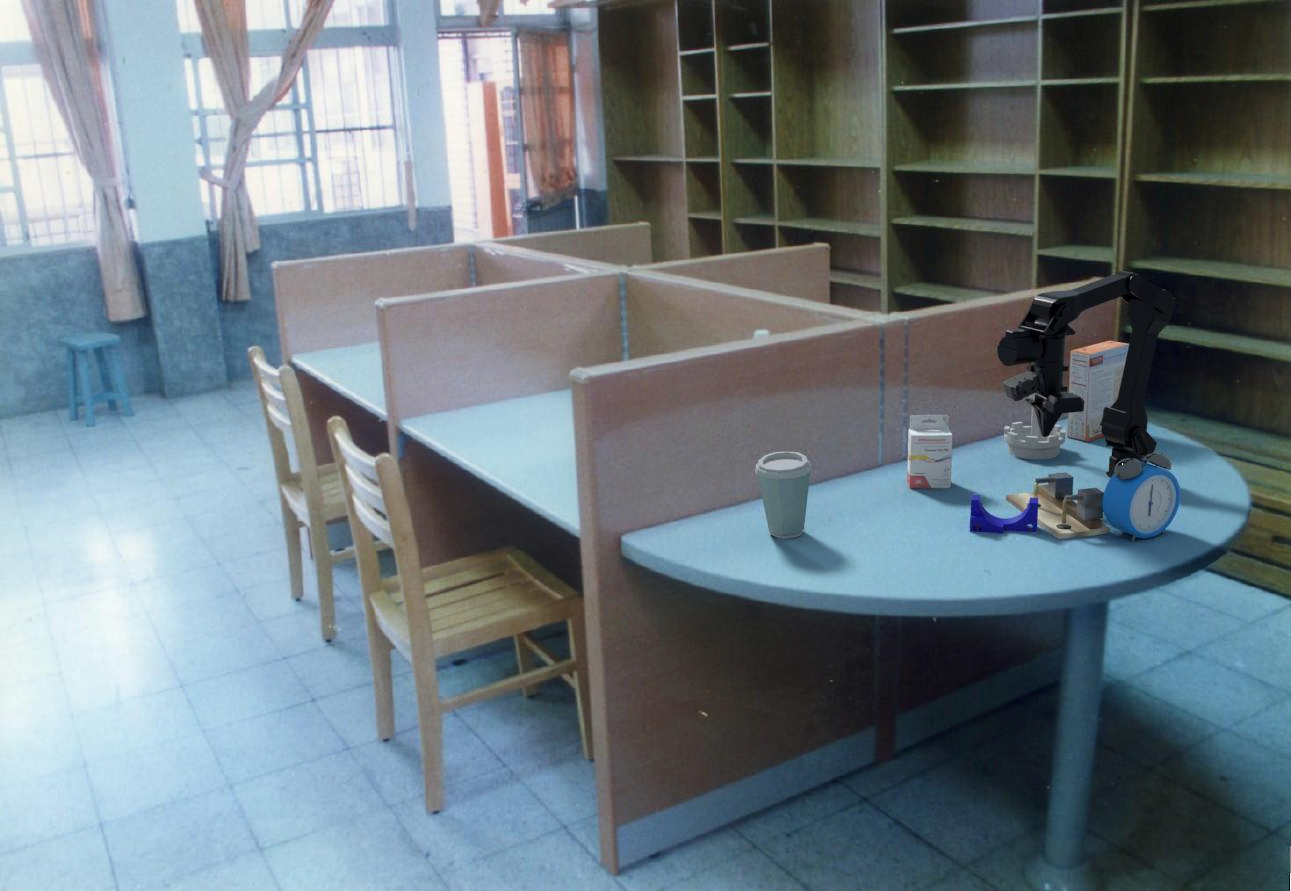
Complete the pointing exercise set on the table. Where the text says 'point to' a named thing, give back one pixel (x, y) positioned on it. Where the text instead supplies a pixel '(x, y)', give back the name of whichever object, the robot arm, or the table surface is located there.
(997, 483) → the table surface
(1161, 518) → the alarm clock
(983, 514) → the blue cradle bracket
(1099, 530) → the hole plate
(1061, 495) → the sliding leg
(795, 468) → the disposable coffee cup
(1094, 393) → the cracker box
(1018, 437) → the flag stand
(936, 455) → the ink cartridge box
